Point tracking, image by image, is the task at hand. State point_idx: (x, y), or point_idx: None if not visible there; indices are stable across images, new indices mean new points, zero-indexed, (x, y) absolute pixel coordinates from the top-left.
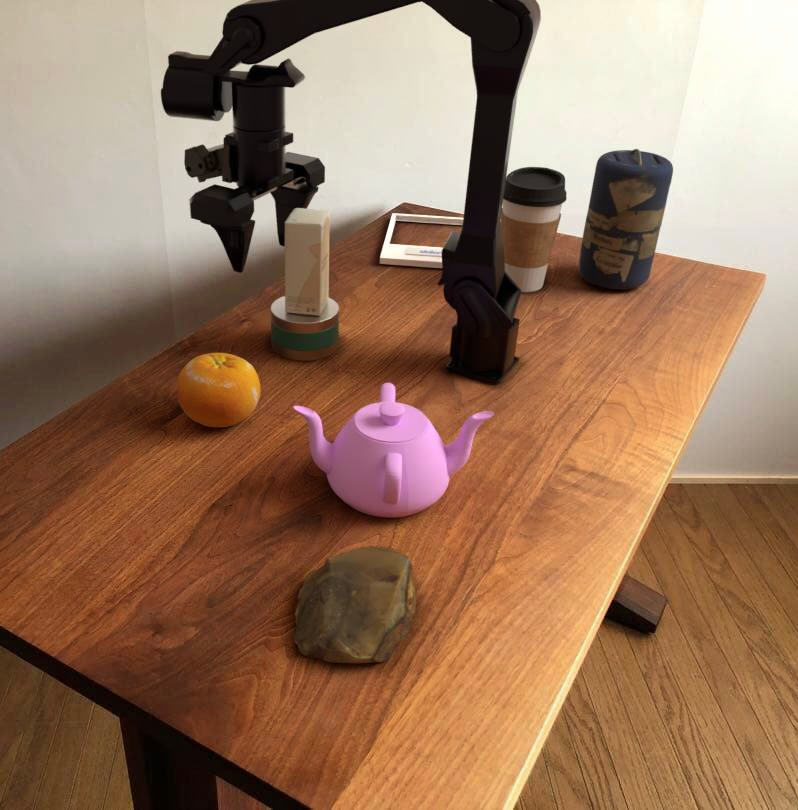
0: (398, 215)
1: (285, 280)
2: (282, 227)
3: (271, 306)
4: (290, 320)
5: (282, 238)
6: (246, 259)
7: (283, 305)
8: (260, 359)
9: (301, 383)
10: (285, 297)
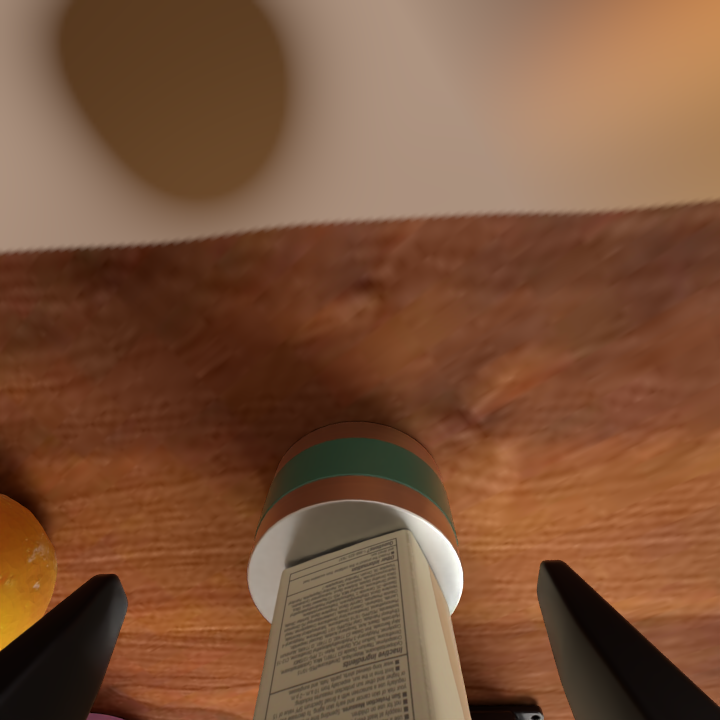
0: None
1: (258, 693)
2: (599, 697)
3: (290, 515)
4: (256, 597)
5: (556, 619)
6: (90, 709)
7: (322, 537)
8: (228, 455)
9: (217, 567)
10: (272, 620)
